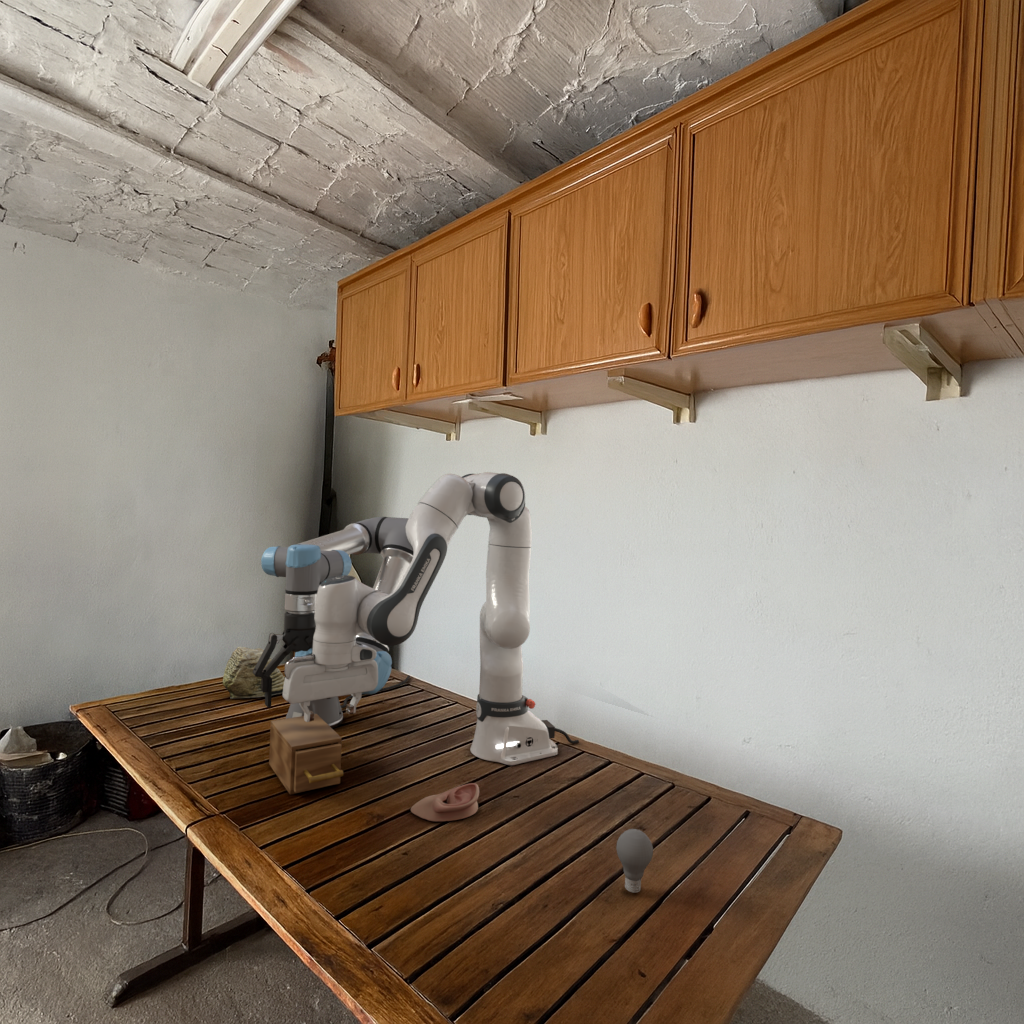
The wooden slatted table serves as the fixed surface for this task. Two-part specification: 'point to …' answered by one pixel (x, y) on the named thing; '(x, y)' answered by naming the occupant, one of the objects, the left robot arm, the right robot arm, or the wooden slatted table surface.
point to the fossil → (248, 675)
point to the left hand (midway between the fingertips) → (298, 701)
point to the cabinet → (296, 744)
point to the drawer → (317, 767)
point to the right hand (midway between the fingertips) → (330, 716)
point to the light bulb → (634, 857)
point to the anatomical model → (449, 804)
